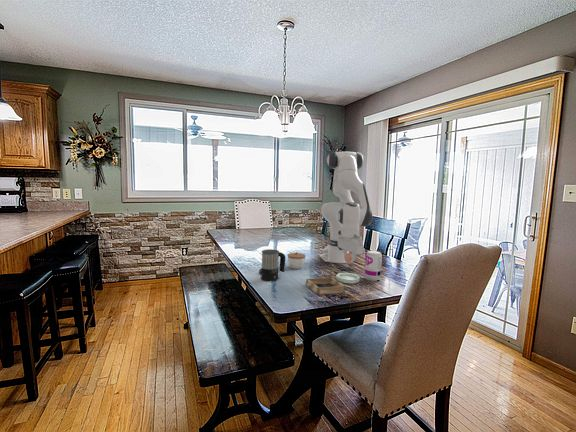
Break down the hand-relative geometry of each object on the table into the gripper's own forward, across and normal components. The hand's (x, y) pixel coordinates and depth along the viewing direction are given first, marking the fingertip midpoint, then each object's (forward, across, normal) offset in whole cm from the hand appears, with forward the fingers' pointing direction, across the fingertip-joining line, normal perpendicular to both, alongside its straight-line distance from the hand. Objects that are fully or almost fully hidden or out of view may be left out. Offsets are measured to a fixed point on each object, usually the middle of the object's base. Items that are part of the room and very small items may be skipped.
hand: (349, 259), depth 158 cm
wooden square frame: (+11, -9, +18) cm, 23 cm away
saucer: (+11, 0, 0) cm, 11 cm away
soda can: (+12, -2, -14) cm, 18 cm away
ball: (-1, 0, 0) cm, 1 cm away
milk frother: (+11, +16, +40) cm, 45 cm away
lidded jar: (+11, +28, +19) cm, 36 cm away
